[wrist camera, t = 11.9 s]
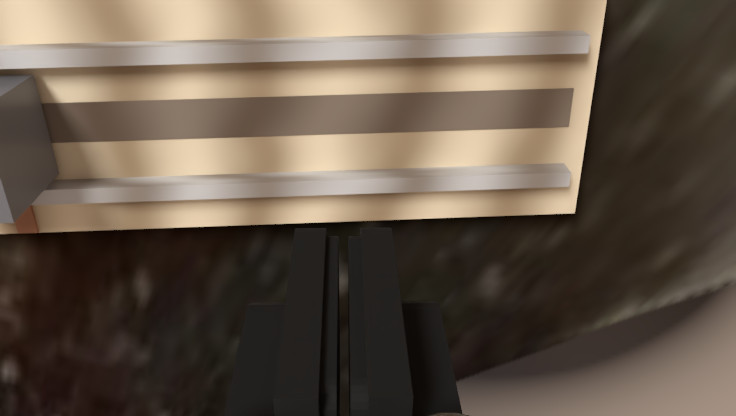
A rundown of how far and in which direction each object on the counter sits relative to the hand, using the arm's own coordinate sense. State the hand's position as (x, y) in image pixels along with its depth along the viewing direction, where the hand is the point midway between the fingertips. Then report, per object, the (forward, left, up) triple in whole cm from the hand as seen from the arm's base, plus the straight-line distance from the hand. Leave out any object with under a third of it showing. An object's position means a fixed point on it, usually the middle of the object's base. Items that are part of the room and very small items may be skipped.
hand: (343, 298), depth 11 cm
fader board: (+4, -4, -23) cm, 24 cm away
